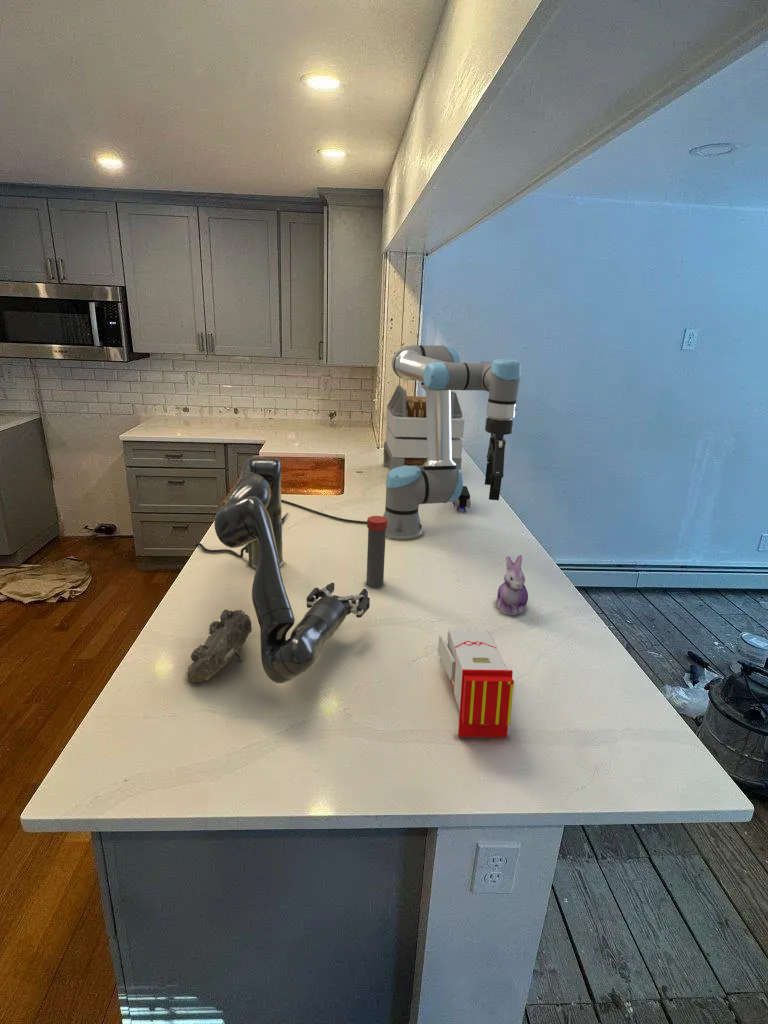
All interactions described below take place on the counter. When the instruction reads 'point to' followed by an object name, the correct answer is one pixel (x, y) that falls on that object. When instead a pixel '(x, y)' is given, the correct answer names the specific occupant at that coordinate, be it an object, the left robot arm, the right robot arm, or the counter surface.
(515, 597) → the figurine
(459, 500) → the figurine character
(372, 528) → the lid
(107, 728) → the counter surface
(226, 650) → the fossil
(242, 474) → the left robot arm
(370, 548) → the grey cylinder
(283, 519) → the feather
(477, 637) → the toy
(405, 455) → the grey storage crate
